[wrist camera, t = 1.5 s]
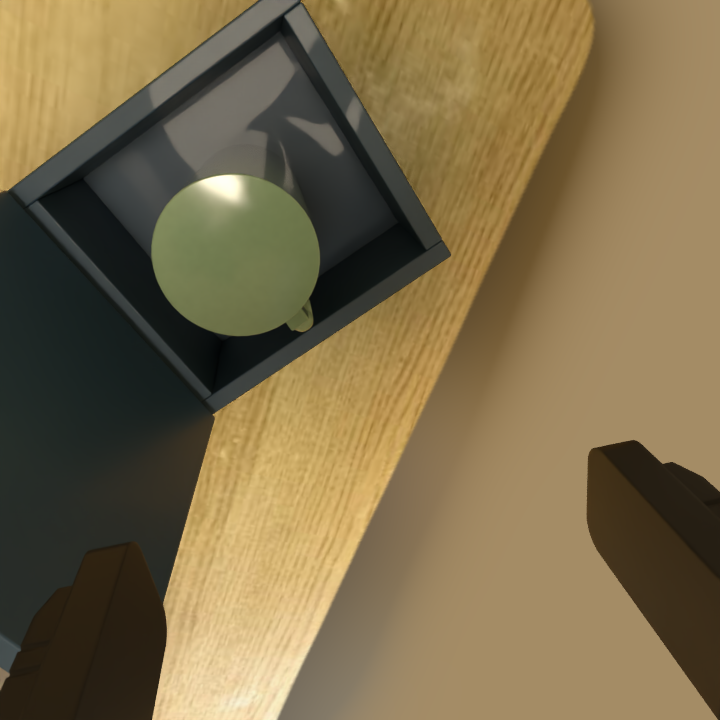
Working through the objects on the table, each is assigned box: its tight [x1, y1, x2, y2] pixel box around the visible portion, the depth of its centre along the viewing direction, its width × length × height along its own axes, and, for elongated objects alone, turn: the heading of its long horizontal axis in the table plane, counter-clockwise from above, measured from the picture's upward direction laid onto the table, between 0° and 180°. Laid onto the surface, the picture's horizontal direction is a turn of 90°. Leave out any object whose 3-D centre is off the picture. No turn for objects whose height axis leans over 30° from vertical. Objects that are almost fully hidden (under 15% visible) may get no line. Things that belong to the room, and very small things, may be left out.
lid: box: [0, 191, 215, 674], centre depth 18 cm, size 13×12×1 cm
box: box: [7, 0, 451, 414], centre depth 26 cm, size 13×12×7 cm
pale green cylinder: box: [151, 144, 320, 336], centre depth 24 cm, size 5×7×11 cm
